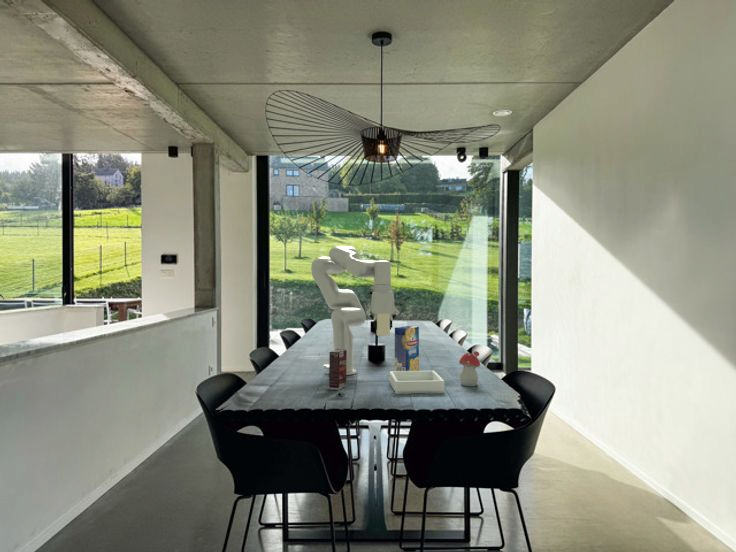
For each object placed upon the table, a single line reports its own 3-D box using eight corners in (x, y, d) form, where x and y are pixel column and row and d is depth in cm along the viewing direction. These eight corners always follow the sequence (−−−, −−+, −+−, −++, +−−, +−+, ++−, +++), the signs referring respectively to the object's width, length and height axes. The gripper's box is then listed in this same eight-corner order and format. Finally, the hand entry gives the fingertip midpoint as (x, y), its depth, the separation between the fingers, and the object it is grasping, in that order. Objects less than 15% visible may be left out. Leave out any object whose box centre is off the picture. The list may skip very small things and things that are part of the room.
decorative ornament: (482, 385, 233) (482, 351, 233) (473, 388, 229) (473, 352, 229) (465, 382, 240) (465, 348, 240) (456, 384, 236) (456, 350, 236)
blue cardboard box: (418, 371, 266) (418, 326, 266) (406, 374, 258) (406, 328, 257) (407, 369, 270) (407, 325, 270) (394, 373, 262) (394, 327, 261)
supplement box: (339, 390, 225) (339, 352, 225) (328, 389, 227) (328, 351, 226) (347, 386, 233) (347, 349, 233) (336, 385, 235) (336, 348, 234)
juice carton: (377, 335, 236) (377, 312, 236) (376, 334, 242) (376, 311, 242) (389, 335, 237) (389, 312, 237) (388, 334, 242) (388, 311, 242)
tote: (395, 394, 218) (395, 381, 218) (389, 382, 240) (389, 371, 240) (444, 393, 220) (444, 380, 220) (434, 381, 242) (434, 370, 242)
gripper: (363, 289, 235) (364, 330, 235) (402, 288, 236) (403, 330, 236) (362, 288, 242) (363, 329, 242) (400, 288, 243) (401, 328, 244)
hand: (383, 329), depth 239 cm, fingers closed on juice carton, 5 cm apart
